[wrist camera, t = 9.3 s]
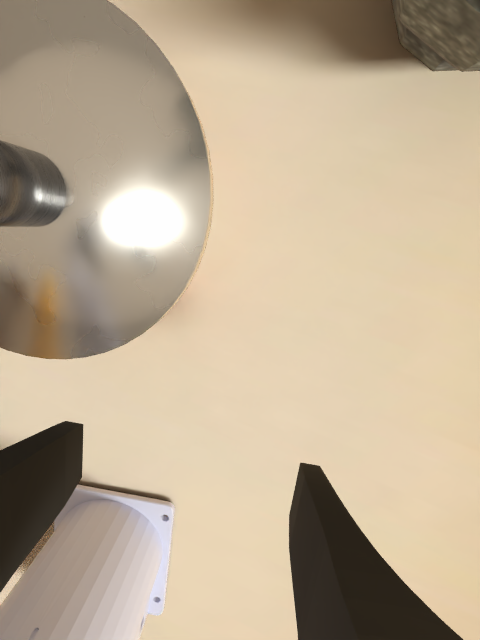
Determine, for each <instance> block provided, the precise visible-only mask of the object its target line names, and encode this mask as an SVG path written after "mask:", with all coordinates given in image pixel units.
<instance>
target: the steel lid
mask: <svg viewBox="0 0 480 640" xmlns="http://www.w3.org/2000/svg"><path fill="white" fill-rule="evenodd" d="M212 210H213V174H212V167H211V160H210V153H209V148H208V145H207V141H206V137H205V134H204V130H203V126H202V124H201V121H200V119H199V116H198V114H197V111H196V109H195V106H194V104H193V101H192V99H191V98H190V96H189V94H188V92H187V90H186V89H185V87H184V85H183V83H182V81H181V80H180V78H179V76H178V74H177V73H176V71H175V70H174V68H173V67H172V65H171V64H170V62H169V61H168V60H167V58H166V57H165V56H164V54H163V53H162V51H161V50H160V49H159V47H158V46H157V45H156V43H155V42H154V41H153V40H152V39H151V38H150V37H149V36H148V35H147V34H146V33H145V32H144V31H143V30H142V28H141V27H140V26H139V25H138V24H137V23H136V22H135V21H133V20H132V19H131V18H130V17H128V16H127V15H126V14H125V13H124V12H122V11H121V10H120V9H119V8H117V7H116V6H115V5H114V4H112V3H110V2H109V1H107V0H0V347H1V348H3V349H5V350H8V351H12V352H16V353H19V354H23V355H26V356H32V357H39V358H45V359H73V358H82V357H88V356H92V355H96V354H101V353H105V352H107V351H110V350H112V349H115V348H117V347H120V346H122V345H124V344H126V343H128V342H129V341H131V340H133V339H135V338H136V337H138V336H140V335H141V334H143V333H144V332H145V331H146V330H148V329H149V328H150V327H151V326H153V325H154V324H155V323H157V322H158V321H159V320H160V319H162V318H163V317H164V316H165V315H166V314H167V312H168V311H169V310H170V309H171V308H172V307H173V306H174V305H175V304H176V303H177V302H178V300H179V299H180V297H181V296H182V295H183V293H184V292H185V290H186V289H187V288H188V286H189V284H190V282H191V281H192V279H193V277H194V275H195V273H196V271H197V269H198V267H199V264H200V262H201V259H202V256H203V254H204V251H205V248H206V245H207V240H208V236H209V231H210V227H211V220H212Z"/></svg>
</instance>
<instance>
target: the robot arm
mask: <svg viewBox="0 0 480 640" xmlns="http://www.w3.org/2000/svg"><path fill="white" fill-rule="evenodd" d="M82 454H83V424H79V423H73V422H68V421H65V422H62V423H59V424H57V425H55V426H52V427H50V428H48V429H46V430H44V431H42V432H39V433H37V434H35V435H33V436H31V437H29V438H27V439H24V440H22V441H20V442H18V443H16V444H14V445H11V446H9V447H7V448H5V449H3V450H0V592H1V591H2V589H3V588H4V587H5V585H6V584H7V582H8V581H9V580H10V578H11V577H12V575H13V574H14V573H15V571H16V570H17V569H18V567H19V566H20V565H21V563H22V562H23V561H24V559H25V558H26V557H27V556H28V554H29V553H30V552H31V550H32V549H33V548H34V546H35V545H36V544H37V542H38V541H39V540H40V538H41V537H42V536H43V535H44V533H45V532H46V531H47V529H48V528H49V527H50V525H51V524H52V523H53V521H54V532H53V534H52V535H51V536H50V538H49V539H48V541H47V542H46V543H45V545H44V546H43V548H42V549H41V550H40V552H39V553H38V554H37V556H36V557H35V559H34V560H33V561H32V563H31V564H30V565H29V567H28V568H27V570H26V571H25V572H24V574H23V575H22V576H21V578H20V579H19V581H18V582H17V583H16V585H15V586H14V588H13V589H12V590H11V592H10V593H9V594H8V596H7V597H6V599H5V600H4V601H3V603H2V604H1V605H0V640H139V638H140V635H141V632H142V629H143V626H144V623H145V620H146V617H147V614H152V615H160V614H162V612H163V609H164V605H165V595H166V586H167V576H168V567H169V558H170V548H171V539H172V529H173V520H174V511H175V508H174V505H173V504H172V503H171V502H168V501H163V500H158V499H153V498H147V497H142V496H137V495H131V494H126V493H120V492H115V491H110V490H104V489H99V488H94V487H88V486H83V485H78V483H79V481H80V479H81V478H82ZM164 515H167V516H168V517H166V516H164ZM289 552H290V562H291V572H292V582H293V591H294V601H295V611H296V620H297V630H298V640H463V639H462V638H461V637H460V636H459V635H457V634H456V633H455V632H454V631H453V630H452V629H451V628H450V627H449V626H448V625H446V624H445V623H444V622H443V621H442V620H441V619H440V618H439V617H438V616H437V615H436V614H435V613H434V612H433V611H432V610H431V609H430V608H429V607H428V606H427V605H426V604H425V603H424V602H423V601H422V600H421V599H420V598H419V597H418V596H417V595H416V594H415V593H414V592H413V591H412V590H411V589H410V588H409V587H408V586H407V585H406V584H405V583H404V582H403V581H402V580H401V578H400V577H399V576H398V575H397V574H396V573H395V572H394V570H393V569H392V568H391V567H390V566H389V565H388V564H387V562H386V561H385V560H384V559H383V558H382V557H381V555H380V554H379V553H378V552H377V551H376V549H375V548H374V547H373V546H372V544H371V543H370V542H369V540H368V539H367V538H366V536H365V535H364V534H363V532H362V531H361V530H360V528H359V527H358V525H357V524H356V522H355V521H354V520H353V518H352V517H351V515H350V514H349V512H348V511H347V509H346V508H345V506H344V505H343V503H342V502H341V500H340V498H339V497H338V495H337V494H336V492H335V490H334V489H333V487H332V485H331V484H330V482H329V480H328V479H327V477H326V475H325V474H324V472H323V470H322V469H321V467H320V466H317V465H311V464H306V463H300V467H299V472H298V476H297V481H296V486H295V491H294V495H293V500H292V505H291V510H290V515H289Z"/></svg>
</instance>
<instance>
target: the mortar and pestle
mask: <svg viewBox="0 0 480 640" xmlns="http://www.w3.org/2000/svg"><path fill="white" fill-rule="evenodd" d="M391 1H392V6H393V11H394V16H395V21H396V26H397V31H398V36H399V41H400V44H401V45H402V46H403V47H405V48H406V49H407V50H408V51H409V52H411V53H412V54H413V55H414V56H415V57H417V58H418V59H419V60H420V61H421V62H423V63H424V64H425V65H426V66H427V67H429V68H430V69H431V70H432V71H450V70H460V71H462V72H463V71H480V0H391Z"/></svg>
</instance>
